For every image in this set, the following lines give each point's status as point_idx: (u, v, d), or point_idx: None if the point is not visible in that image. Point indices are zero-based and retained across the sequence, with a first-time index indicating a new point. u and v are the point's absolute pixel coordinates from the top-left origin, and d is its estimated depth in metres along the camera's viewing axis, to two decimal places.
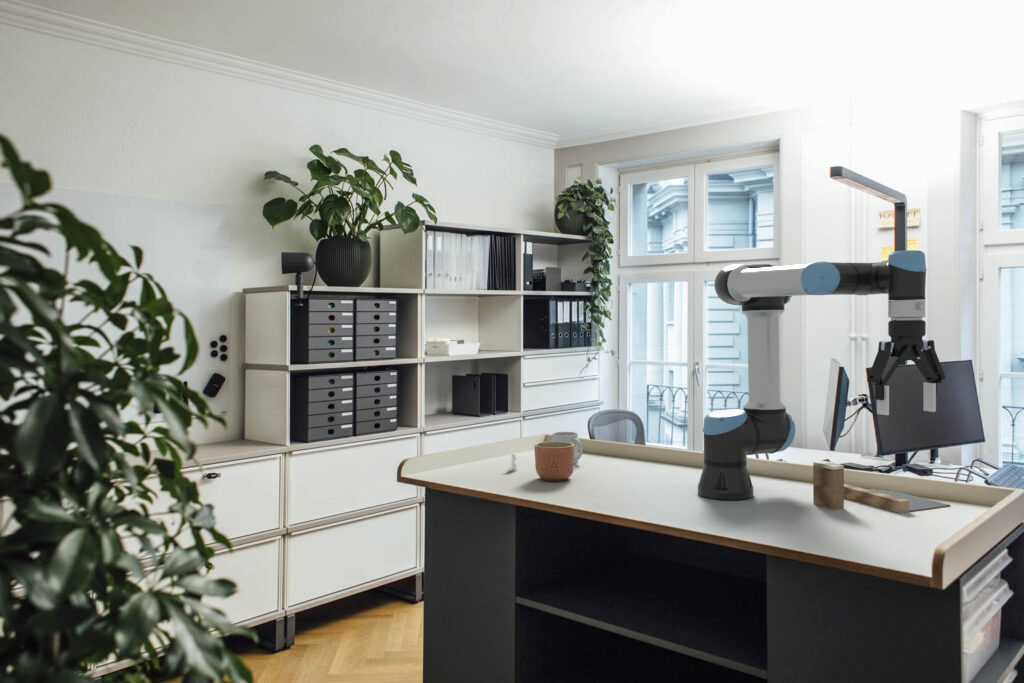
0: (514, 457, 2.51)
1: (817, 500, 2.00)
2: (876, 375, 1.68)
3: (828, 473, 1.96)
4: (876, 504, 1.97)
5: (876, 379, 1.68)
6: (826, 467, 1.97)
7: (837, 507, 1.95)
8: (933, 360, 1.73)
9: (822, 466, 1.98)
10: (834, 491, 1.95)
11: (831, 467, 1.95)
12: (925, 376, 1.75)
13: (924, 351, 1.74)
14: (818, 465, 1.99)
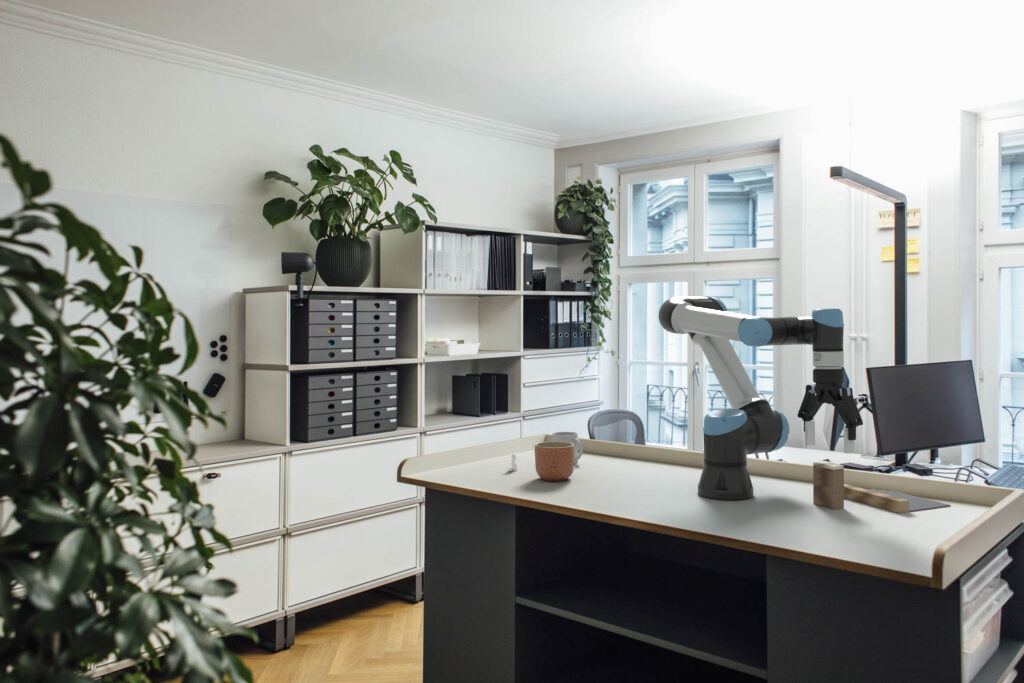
0: (514, 457, 2.51)
1: (817, 500, 2.00)
2: None
3: (828, 473, 1.96)
4: (876, 504, 1.97)
5: (798, 414, 2.07)
6: (826, 467, 1.97)
7: (837, 507, 1.95)
8: None
9: (822, 466, 1.98)
10: (834, 491, 1.95)
11: (831, 467, 1.95)
12: None
13: None
14: (818, 465, 1.99)
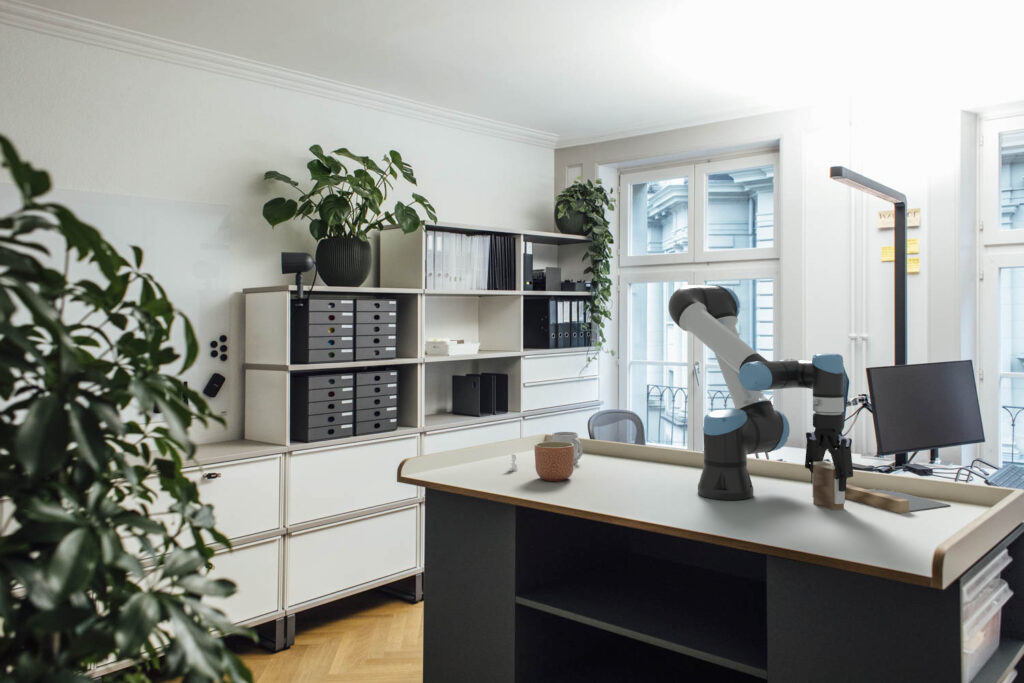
0: (514, 457, 2.51)
1: (817, 500, 2.00)
2: None
3: (828, 472, 1.96)
4: (876, 504, 1.97)
5: (805, 465, 2.04)
6: (826, 467, 1.97)
7: (837, 507, 1.95)
8: None
9: (822, 466, 1.98)
10: None
11: (831, 467, 1.95)
12: None
13: None
14: (818, 465, 1.99)
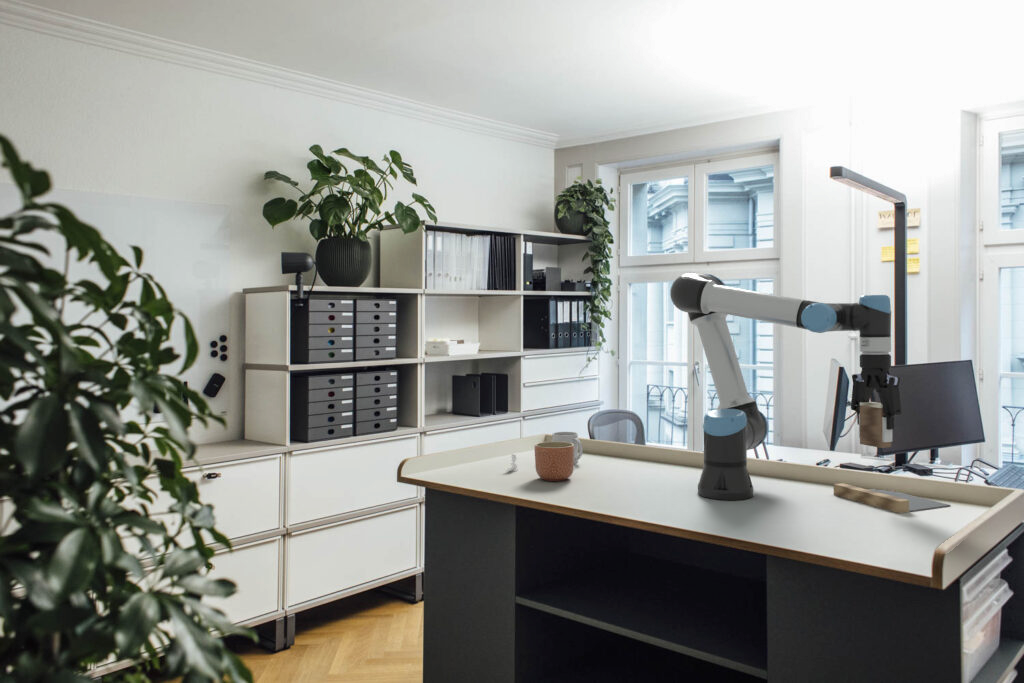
0: (514, 457, 2.51)
1: (864, 440, 2.03)
2: None
3: (876, 411, 1.99)
4: (876, 504, 1.97)
5: (851, 407, 2.07)
6: (873, 406, 1.99)
7: (885, 445, 1.98)
8: None
9: (869, 406, 2.01)
10: None
11: (879, 406, 1.98)
12: None
13: None
14: (865, 405, 2.02)
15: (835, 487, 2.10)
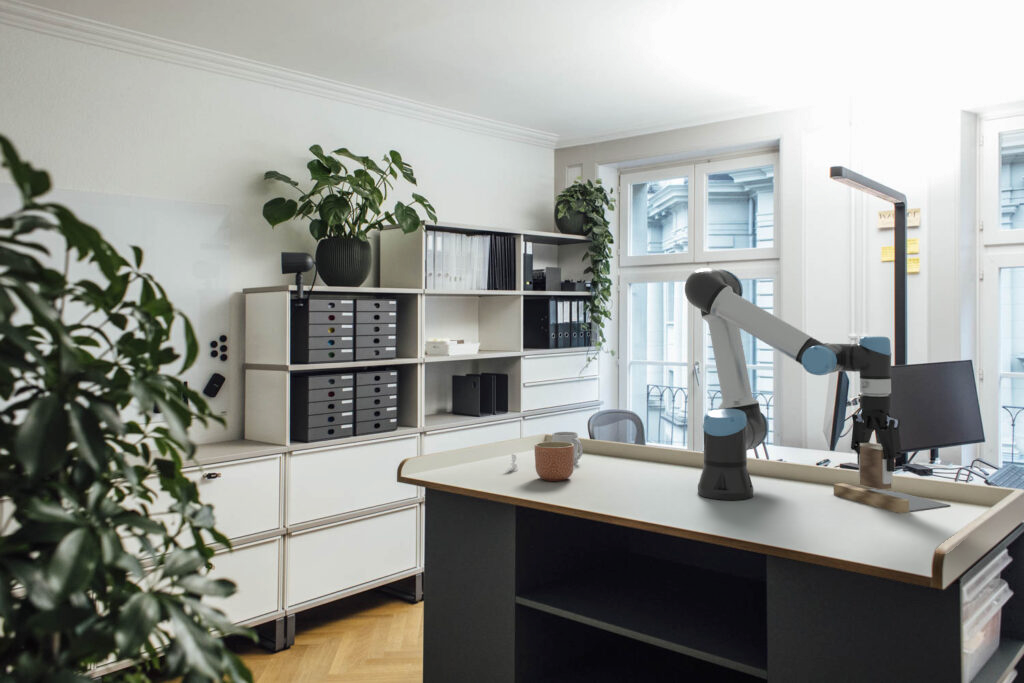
0: (514, 457, 2.51)
1: (864, 480, 2.03)
2: None
3: (876, 453, 1.99)
4: (876, 504, 1.97)
5: (851, 447, 2.08)
6: (873, 448, 2.00)
7: (885, 487, 1.98)
8: None
9: (869, 447, 2.01)
10: None
11: (879, 447, 1.98)
12: None
13: None
14: (865, 446, 2.02)
15: (835, 487, 2.10)
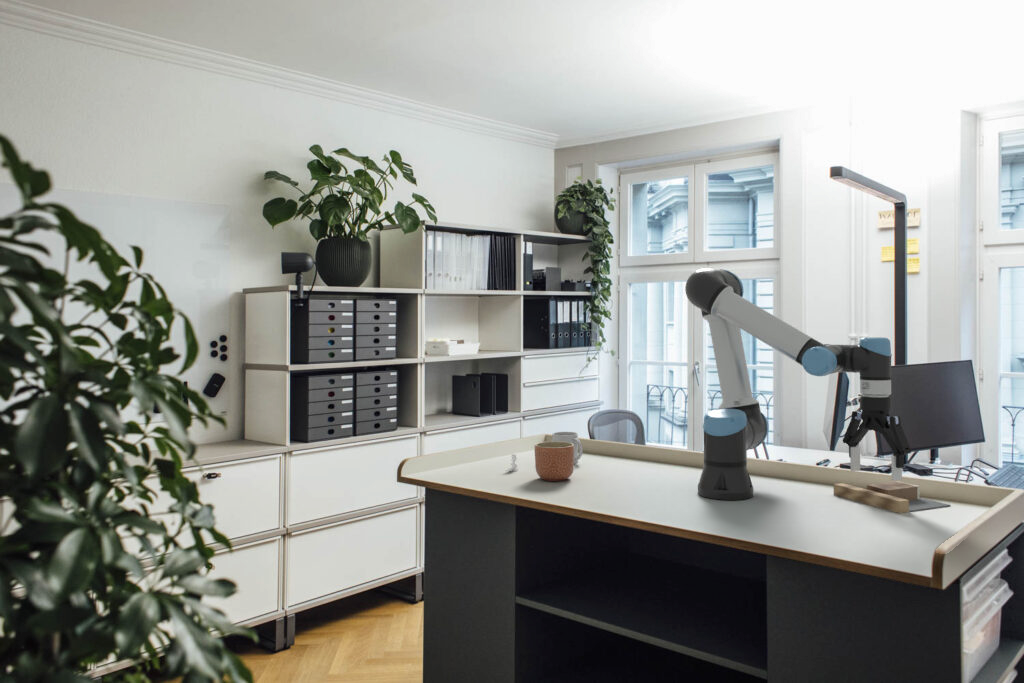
0: (514, 457, 2.51)
1: (874, 485, 2.05)
2: None
3: (909, 485, 2.04)
4: (876, 504, 1.97)
5: (843, 439, 2.10)
6: (910, 484, 2.05)
7: None
8: None
9: (906, 483, 2.06)
10: (902, 489, 2.01)
11: (916, 485, 2.03)
12: None
13: None
14: (901, 482, 2.08)
15: (835, 487, 2.10)
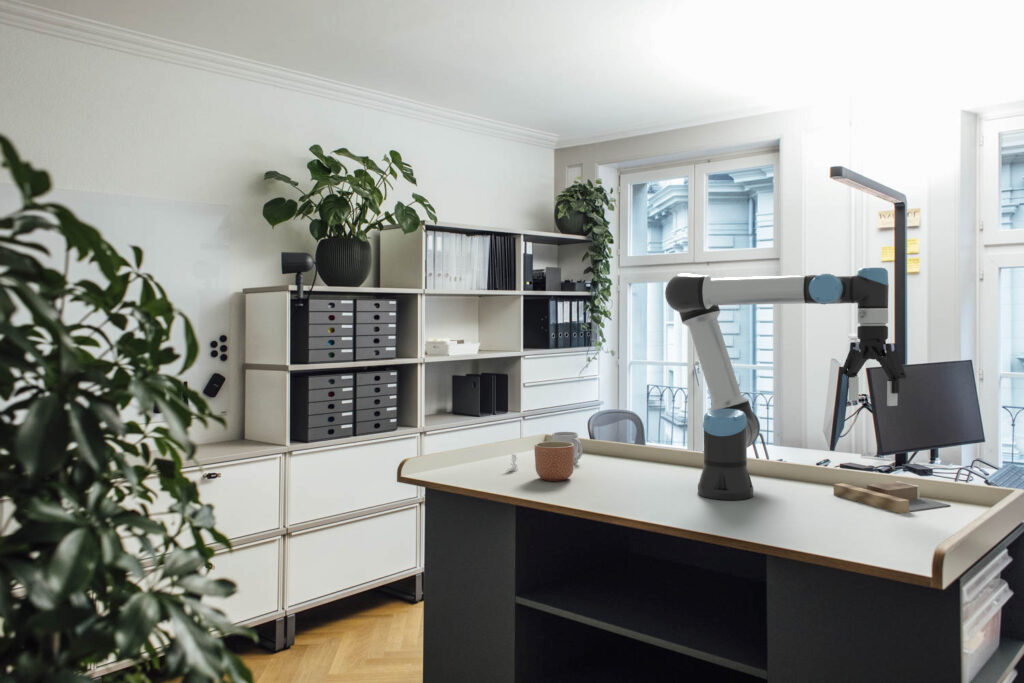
0: (514, 457, 2.51)
1: (874, 485, 2.05)
2: None
3: (909, 485, 2.04)
4: (876, 504, 1.97)
5: (842, 371, 2.15)
6: (910, 484, 2.05)
7: None
8: None
9: (906, 483, 2.06)
10: (902, 489, 2.01)
11: (916, 485, 2.03)
12: None
13: None
14: (901, 482, 2.08)
15: (835, 487, 2.10)
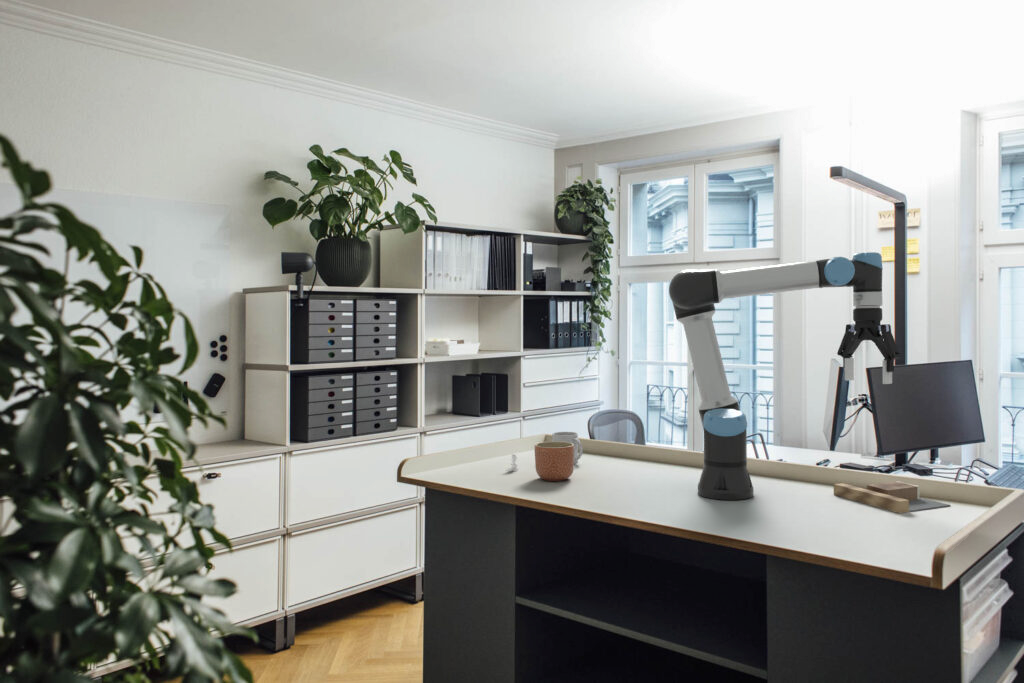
0: (515, 457, 2.51)
1: (874, 485, 2.05)
2: None
3: (909, 485, 2.04)
4: (876, 504, 1.97)
5: (837, 352, 2.24)
6: (910, 484, 2.05)
7: None
8: None
9: (906, 483, 2.06)
10: (902, 489, 2.01)
11: (916, 485, 2.03)
12: None
13: None
14: (901, 482, 2.08)
15: (835, 487, 2.10)
